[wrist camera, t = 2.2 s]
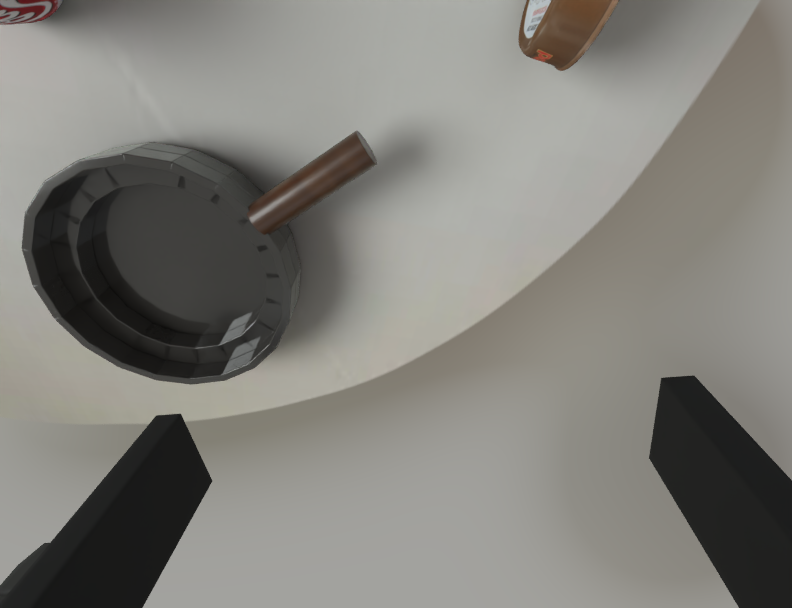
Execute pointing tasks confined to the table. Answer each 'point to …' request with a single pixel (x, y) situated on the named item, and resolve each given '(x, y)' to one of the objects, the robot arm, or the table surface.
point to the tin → (562, 29)
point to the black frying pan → (161, 263)
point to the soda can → (26, 10)
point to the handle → (312, 184)
